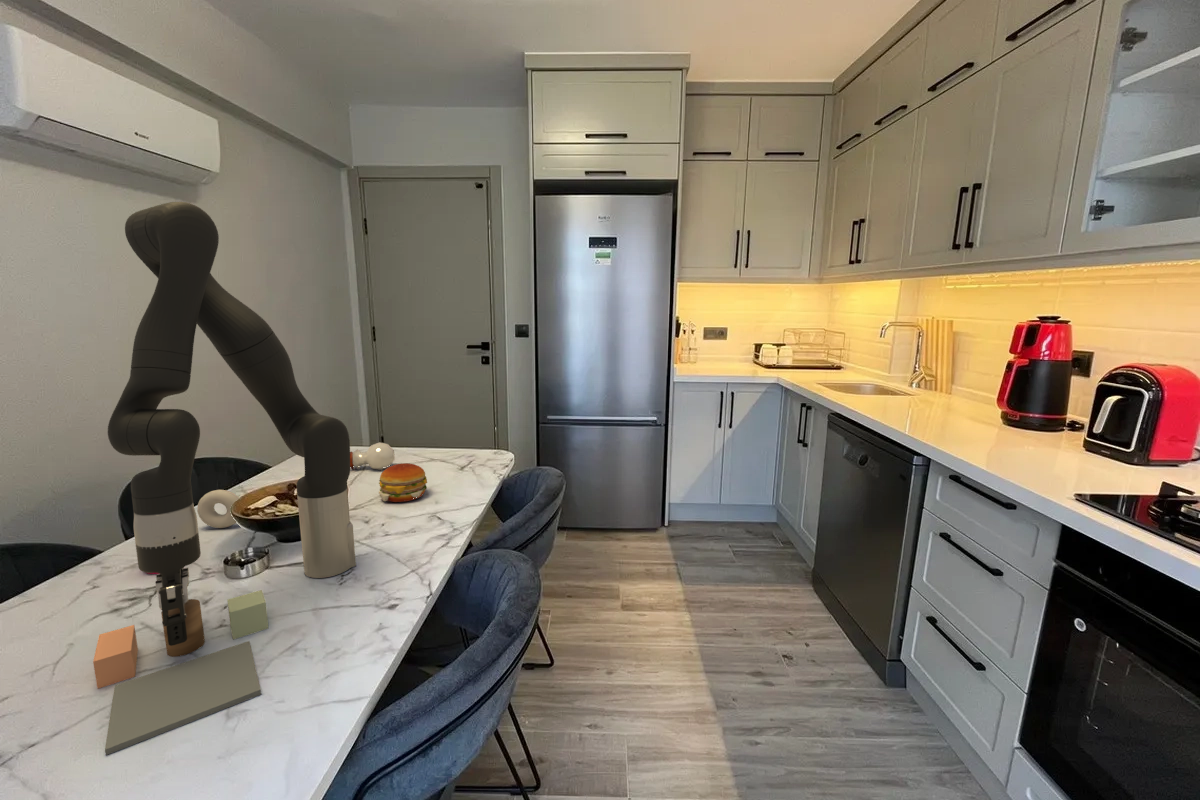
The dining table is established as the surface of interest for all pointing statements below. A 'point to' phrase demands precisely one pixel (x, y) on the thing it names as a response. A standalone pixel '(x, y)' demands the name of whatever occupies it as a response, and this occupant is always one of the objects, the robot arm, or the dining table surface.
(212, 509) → the donut
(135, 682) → the slate mat
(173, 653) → the walnut cylinder
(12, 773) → the dining table surface
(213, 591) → the dining table surface
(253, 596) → the sage cube
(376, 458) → the potion bottle
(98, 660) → the terracotta brick
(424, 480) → the burger
